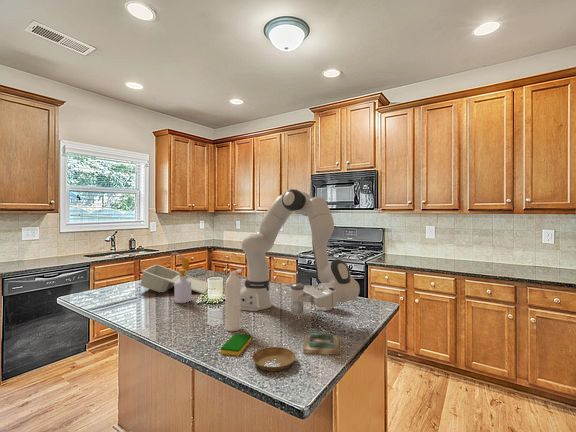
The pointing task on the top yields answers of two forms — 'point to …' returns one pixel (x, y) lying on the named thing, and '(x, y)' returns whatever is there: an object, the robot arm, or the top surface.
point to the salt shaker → (296, 298)
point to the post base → (321, 344)
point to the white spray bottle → (233, 302)
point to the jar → (323, 307)
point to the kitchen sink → (168, 279)
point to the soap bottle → (183, 285)
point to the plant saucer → (273, 353)
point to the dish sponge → (236, 344)
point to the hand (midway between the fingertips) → (295, 297)
